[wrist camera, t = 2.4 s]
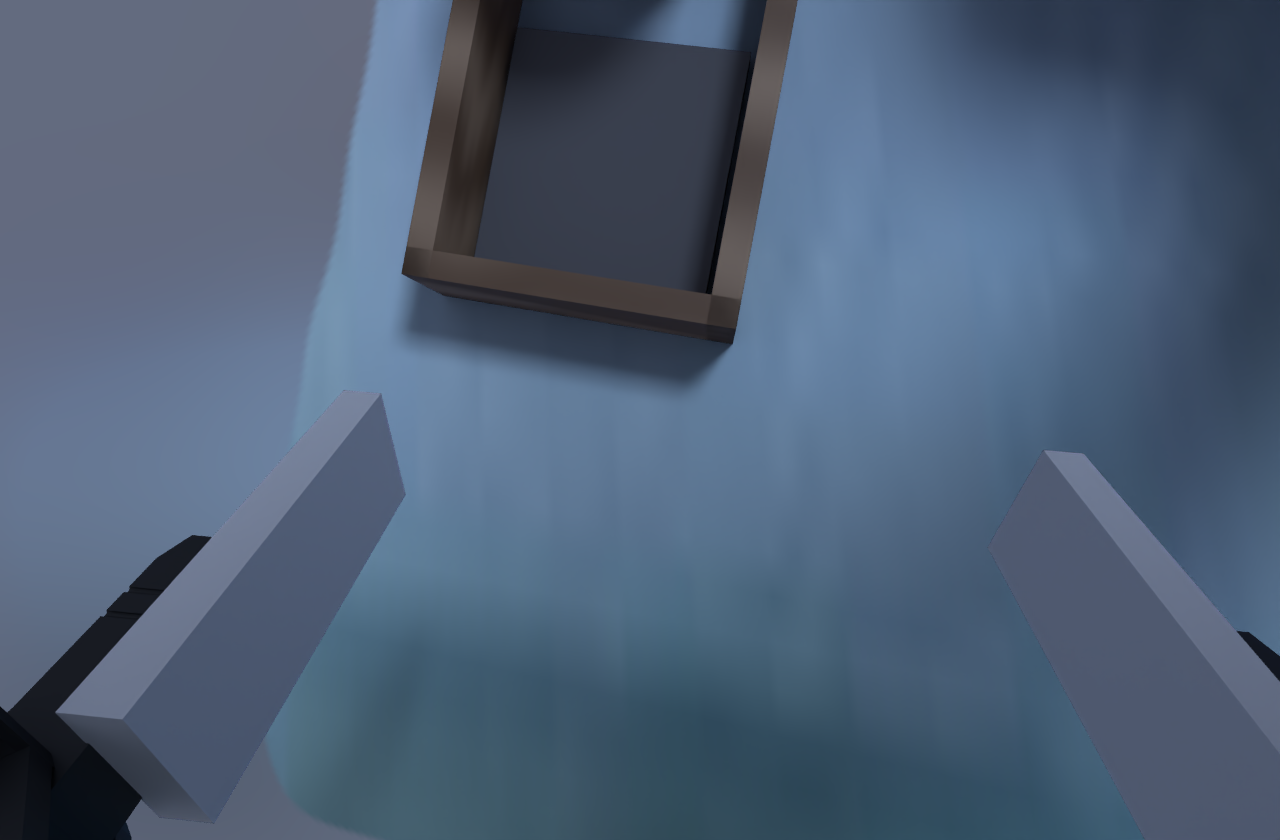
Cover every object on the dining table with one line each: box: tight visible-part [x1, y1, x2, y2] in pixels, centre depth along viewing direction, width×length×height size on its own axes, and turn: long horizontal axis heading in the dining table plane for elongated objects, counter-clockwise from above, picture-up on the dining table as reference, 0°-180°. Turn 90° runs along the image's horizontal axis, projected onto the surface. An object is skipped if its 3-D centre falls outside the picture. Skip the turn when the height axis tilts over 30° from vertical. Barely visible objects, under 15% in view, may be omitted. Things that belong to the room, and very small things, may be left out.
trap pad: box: [474, 27, 751, 294], centre depth 28 cm, size 12×11×1 cm
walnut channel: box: [402, 0, 798, 344], centre depth 26 cm, size 26×14×4 cm, turn 169°
